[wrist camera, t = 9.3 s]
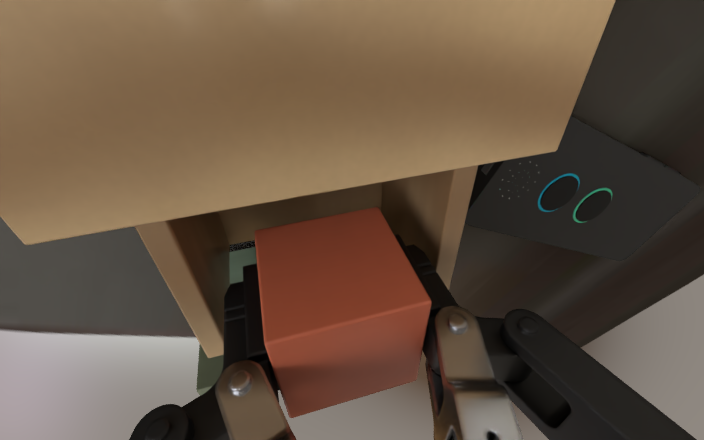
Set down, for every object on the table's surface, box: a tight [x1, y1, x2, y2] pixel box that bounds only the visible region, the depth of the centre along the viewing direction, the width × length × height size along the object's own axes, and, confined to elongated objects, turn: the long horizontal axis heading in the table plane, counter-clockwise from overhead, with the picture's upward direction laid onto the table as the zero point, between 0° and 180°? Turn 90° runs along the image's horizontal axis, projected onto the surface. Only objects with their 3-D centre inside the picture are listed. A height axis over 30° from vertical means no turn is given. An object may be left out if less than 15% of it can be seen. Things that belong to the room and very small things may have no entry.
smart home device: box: [465, 116, 700, 261], centre depth 25 cm, size 8×2×20 cm
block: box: [254, 207, 432, 418], centre depth 12 cm, size 4×4×4 cm
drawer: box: [135, 165, 478, 396], centre depth 15 cm, size 17×11×7 cm, turn 1°
